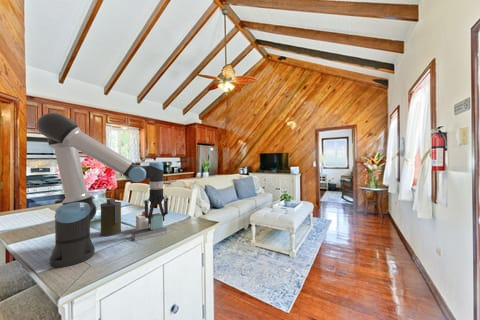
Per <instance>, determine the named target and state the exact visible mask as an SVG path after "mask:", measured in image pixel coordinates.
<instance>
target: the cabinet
mask: <svg viewBox="0 0 480 320" xmlns="http://www.w3.org/2000/svg"><path fill="white" fill-rule="evenodd" d="M152 214H154V212H153V213H152ZM149 227H150V224H149V223H148V218H146V217H145V216H142V213H139V214H135V230H140V229H144V228H149Z"/></svg>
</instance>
